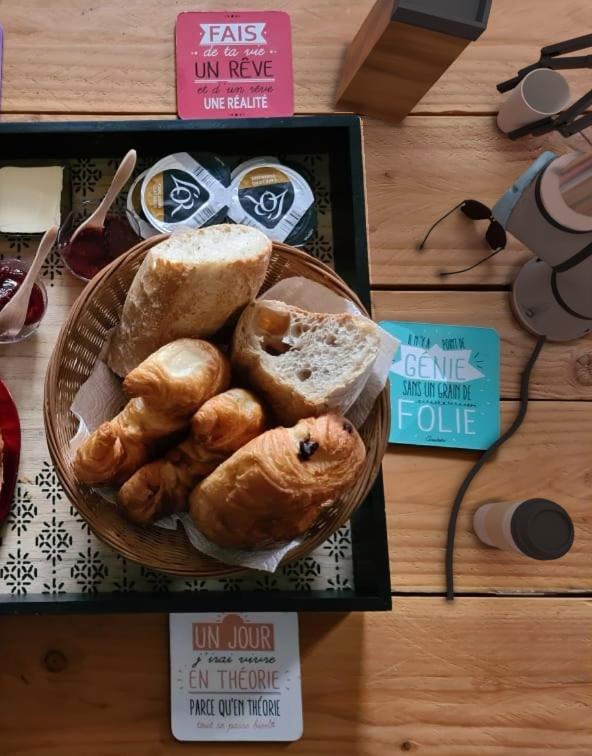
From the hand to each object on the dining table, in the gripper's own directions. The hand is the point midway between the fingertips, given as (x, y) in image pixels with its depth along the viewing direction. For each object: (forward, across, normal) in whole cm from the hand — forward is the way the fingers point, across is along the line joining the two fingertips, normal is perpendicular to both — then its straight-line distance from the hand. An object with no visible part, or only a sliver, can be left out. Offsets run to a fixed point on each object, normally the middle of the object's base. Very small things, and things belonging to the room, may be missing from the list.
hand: (504, 113), depth 126 cm
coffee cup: (+13, -69, +7) cm, 70 cm away
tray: (-1, +10, +29) cm, 31 cm away
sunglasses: (+11, -21, +5) cm, 24 cm away
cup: (0, 0, -5) cm, 5 cm away
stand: (+17, +10, +11) cm, 22 cm away
